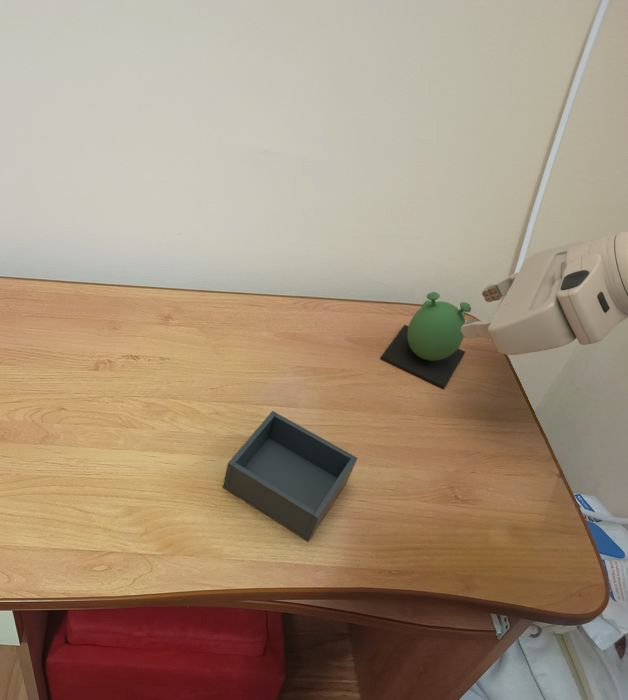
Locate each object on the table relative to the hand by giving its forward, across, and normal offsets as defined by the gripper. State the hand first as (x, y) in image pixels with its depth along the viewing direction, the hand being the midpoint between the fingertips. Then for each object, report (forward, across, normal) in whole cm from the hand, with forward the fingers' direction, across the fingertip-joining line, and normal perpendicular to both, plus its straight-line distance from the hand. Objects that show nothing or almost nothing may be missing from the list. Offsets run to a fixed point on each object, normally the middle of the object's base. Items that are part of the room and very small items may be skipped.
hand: (474, 312), depth 79 cm
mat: (+10, 0, +5) cm, 11 cm away
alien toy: (+9, -1, +5) cm, 10 cm away
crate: (+13, +31, +1) cm, 34 cm away
